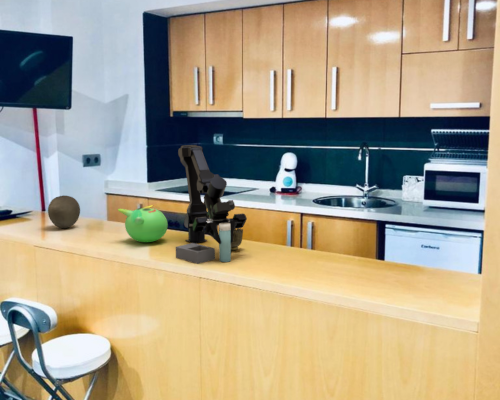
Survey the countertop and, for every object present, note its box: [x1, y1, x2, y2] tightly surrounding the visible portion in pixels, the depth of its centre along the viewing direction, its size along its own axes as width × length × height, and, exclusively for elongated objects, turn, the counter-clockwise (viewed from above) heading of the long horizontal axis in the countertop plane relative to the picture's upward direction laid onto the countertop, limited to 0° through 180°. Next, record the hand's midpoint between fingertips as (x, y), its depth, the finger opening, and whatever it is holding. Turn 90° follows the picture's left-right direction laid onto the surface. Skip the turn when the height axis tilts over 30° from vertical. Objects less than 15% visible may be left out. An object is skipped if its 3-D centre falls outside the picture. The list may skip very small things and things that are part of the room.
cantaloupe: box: [47, 195, 81, 229], centre depth 242 cm, size 14×14×15 cm
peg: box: [218, 223, 232, 263], centre depth 185 cm, size 4×4×13 cm
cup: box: [231, 228, 244, 252], centre depth 200 cm, size 8×7×8 cm
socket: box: [175, 242, 216, 265], centre depth 189 cm, size 12×8×4 cm, turn 46°
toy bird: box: [117, 204, 169, 243], centre depth 215 cm, size 18×17×15 cm
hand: (226, 242), depth 184 cm, fingers closed on peg, 4 cm apart
